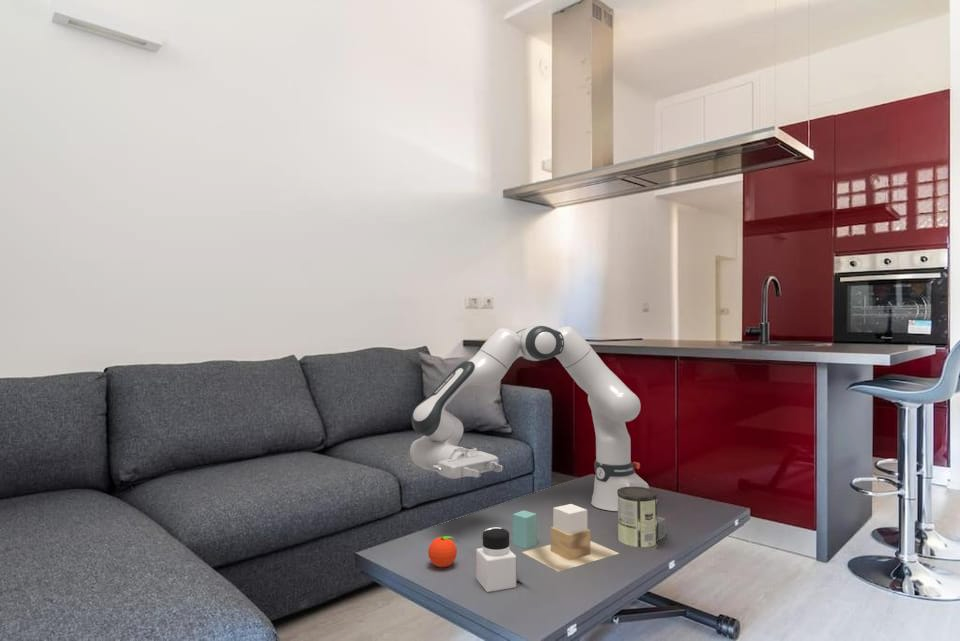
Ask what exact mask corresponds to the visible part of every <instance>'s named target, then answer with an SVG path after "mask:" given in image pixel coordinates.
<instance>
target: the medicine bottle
mask: <svg viewBox="0 0 960 641" xmlns="http://www.w3.org/2000/svg"><path fill="white" fill-rule="evenodd" d="M475 560H476V562H475V563H476V569H475V571H476V573H475V574H476V580H477V581H478V583H479V585H481V586H482V588H483V589H484V590H485V591H486V593H491V592H497V591H502V590H508V589H515V588H517V555H516V554H515V553H513V551H511V549H510V532H509V531H508V530H507V529H506V528H502V527H489V528H486V529H485V530H484V531H483V532H482V547H480V548H479V547H478V548H476V556H475Z"/></svg>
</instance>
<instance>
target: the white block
mask: <svg viewBox="0 0 960 641" xmlns="http://www.w3.org/2000/svg"><path fill="white" fill-rule="evenodd" d="M552 509H553V510H552V511H553V512H552V513H553V515H552V518H553V520H552V521H553V522H552V527H553V528H556V529H558V530H560V531H562V532H564V533H567V534H569V535H570V534H574V533H578V532H582V531H585V530H587V529H588V509H587V508H583V507H581V506H578V505H575V504H573V503H569V504H565V505H559V506H555V507H553V508H552Z"/></svg>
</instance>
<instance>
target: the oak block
mask: <svg viewBox="0 0 960 641" xmlns="http://www.w3.org/2000/svg"><path fill="white" fill-rule="evenodd" d="M590 541H591V530H590V529H589V528H587V530H585V531H582V532H578V533H574V534H570V535H569V534H567V533H564V532H562V531H560V530H558V529H556V528H553V526H551V527H550V545H551V552H553V553H555V554H557V555H559V556H561V557H563V558H565V559H567V560H573V559H576V558H580V557H583V556H586V555H590Z"/></svg>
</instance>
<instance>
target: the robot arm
mask: <svg viewBox="0 0 960 641" xmlns="http://www.w3.org/2000/svg"><path fill="white" fill-rule="evenodd" d="M554 357H555V358H556V359H557V360H558V361H559V363H560V364H561V365H562V367H563V368H564V369H565V371H567V373H568V375H569V376H570V377H571V378H572V379H573V381H574V382H575V383H576V385H578V387H579V388H580V389H581V390H583V391H584V392H585V393H586V394H587V402H588V405H589V408H590V410H591V417H592V422H593V428H594V432H595V433H594V434H595V456H596V457H595V458H596V459H595V460H594V472H595V476H594V482H593V484H594V485H593V493H592V495H591V503H590V504H591V505H592V506H593V507H595V508H597V509H600V510H604V511H605V510H606V511H610V512H618V494H617V490H618V489H620V488H623V487H644V488H649V489H650V486H649V484H648V483H647V481H645V480H644V479H643V478H642V477H640V476H639V475H638V474H637V473H636V471H635V469H637V470H639V469H640V468H641V464H640V462H636V461H633V462H632V460H631V456H632V455H631V449H632V448H631V444H632V443H631V436H630V433H629V432H628V429H627V426H626V423H628V422H632V421H633V420H635V419H636V418H637V417H638V415H639V414H640V412H641V406H642V405H641V401H640V398H639V397H638V396H637V394H635V392H633V391H632V390H631V389H630V388H629V387H628V386H627V385H626V384H625V383H624V382H623V381H622V380H621V379H620V378H619V377H618V376H617V375H616V374H615V373H614V372H613V371H612V370H611V369H610V368H609V367H608V366H607V365H606V364H605V363H604V361H603V360H602V359H601V357H600V356H599V354H597V353H596V351H595V350H594V349H593V347H592V346H591V345H590V343H589V342H588V340H586V339H585V338H584V337H583V336H582V335H581V334H580V333H579V332H578V331H577V330H576V329H575V328H573V327H572V326H568V325H565V326H561V327H559V328H556V329H553V328H552V327H549V326H545V325H533V326H532V325H531V326H529V327H527V328H523V329H521V330H519V331H516V332H515V331H513V330H512V329H510V328H506V327H501V328H498V329H496V331H494V333H492V334H491V335H490V336H489V338H488V339H487V340H486V341H485V342H484V343H483V344H482V346H481V347H480V349H479V350H478V351H477V353H476V354H475V355H473V356H472V357H471V358H470V359H469V360H467V361H462V362H461V363H460V364H458V365H457V366H456V367H454V368H453V369H452V371H451V372H450V373H449V374H448V375H447V376H446V377H445V378H444V379H443V381H442V382H440V384H439V385H437V387H436V388H435V389H434V390H433V391H432V392H431V393H430V394H429V395H428V396H427V397H426V398H425V399H423V400H422V401H421V402H419V403H418V404H417V405H416V406H415V407H414V409H413V412H412V414H411V425H412V429H413V430H414V431H415V432H416V433H419V434H421V435H422V436H421V437H420V438H417V439H416V440H414V441H413V442H412V443H411V445H410V448H409V456H410V459H411V461H412V462H413V463H414V464H415V465H416V466H418V467H419V468H422V469H424V470H427V471H431V472H437V474H438V475H440V476H442V477H443V478H446V479H450V480H457V479H461V478H465V477H473V478H480V477H481V476H482V473H486V472H490V471H493V472H496V473H501V472H503V465H501V464H499V457H498V456H496V455H494V454H491V453H488V452H485V451H481V450H478V449H477V448H476V447H469V446H467V447H462V446H459V445H460V443H461V441H462V439H463V437H464V433H465V432H464V431H465V428H464V424H463V422H462V421H461V419H459V418H457V417H456V416H455V415H453V414H452V413H451V412H449V411H447V410H446V407H447V406H448V405H449V403H451V401H452V400H453V399H454V398H455V397H456V396H457V395H458V394H459V392H460V391H461V390H462V389H463V388H465V387H467V386H477V387H478V386H480V387H491V386H495V385H497V384H498V383H500V381H501V380H502V379H503V378H504V377H505V375H506V374H507V373H508V371H509V369H510V367H511V366H512V364H513V363H514V362H515V361H516V360H517V359H519V358H521V359H522V360H526V361H533V362H539V361H546V360H549V359H552V358H554Z"/></svg>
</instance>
